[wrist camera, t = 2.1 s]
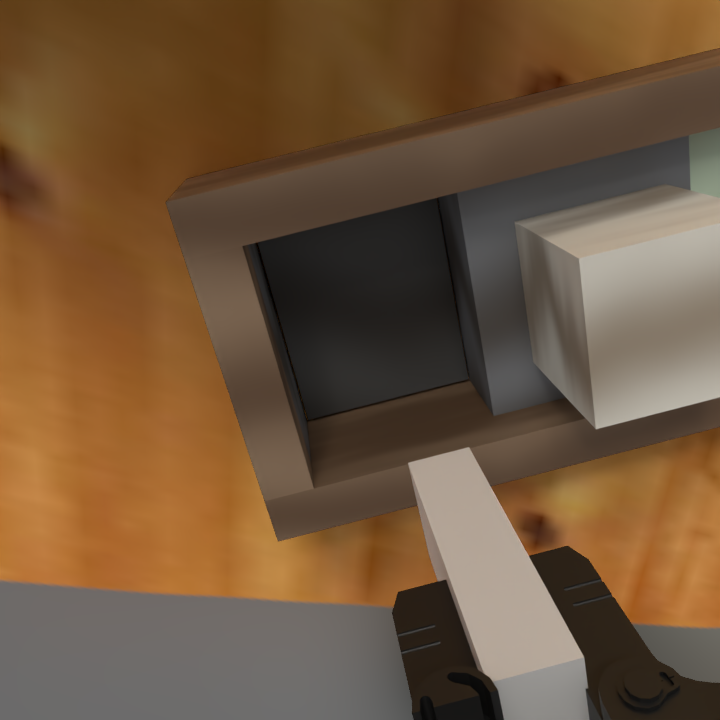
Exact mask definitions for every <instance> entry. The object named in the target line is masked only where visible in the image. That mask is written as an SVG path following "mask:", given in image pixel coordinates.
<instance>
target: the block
mask: <svg viewBox="0 0 720 720" xmlns="http://www.w3.org/2000/svg"><path fill="white" fill-rule="evenodd" d="M515 229H516V237H517V244H518V252H519V259H520V267H521V274H522V282H523V289H524V297H525V304H526V311H527V319H528V326H529V334H530V341H531V349H532V356H533V363H534V364H535V365H536V366H537V367H538V368H539V369H540V370H541V371H542V372H543V373H544V374H545V375H546V377H547V378H548V379H549V380H550V381H551V382H552V383H553V384H554V385H555V386H556V387H557V388H558V389H559V390H560V391H561V393H562V394H563V395H564V396H565V397H566V398H567V399H568V400H569V401H570V402H571V403H572V404H573V405H574V406H575V408H576V409H577V410H578V411H579V412H580V413H581V414H582V415H583V416H584V417H585V418H586V419H587V420H588V421H589V422H590V424H591V425H592V426H593V427H594V428H595V429H599V428H603V427H607V426H611V425H615V424H619V423H622V422H626V421H630V420H634V419H638V418H642V417H646V416H649V415H653V414H657V413H661V412H665V411H669V410H673V409H677V408H680V407H684V406H688V405H692V404H696V403H700V402H704V401H708V400H711V399H715V398H719V397H720V198H718V197H714V196H710V195H706V194H702V193H699V192H695V191H691V190H687V189H683V188H679V187H675V186H671V185H667V184H663V185H659V186H655V187H651V188H647V189H643V190H639V191H635V192H631V193H627V194H623V195H619V196H615V197H611V198H607V199H603V200H599V201H595V202H591V203H587V204H583V205H579V206H575V207H571V208H567V209H563V210H559V211H555V212H551V213H547V214H543V215H539V216H535V217H531V218H527V219H523V220H519V221H515Z"/></svg>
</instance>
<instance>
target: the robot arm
mask: <svg viewBox="0 0 720 720" xmlns="http://www.w3.org/2000/svg"><path fill="white" fill-rule="evenodd" d="M408 465H409V470H410V474H411V478H412V483H413V487H414V491H415V496H416V500H417V505H418V509H419V513H420V518H421V522H422V527H423V531H424V535H425V540H426V544H427V548H428V553H429V556H430V559H431V562H432V565H433V568H434V571H435V574H436V577H437V580H438V582H434V583H431V584H427V585H423V586H419V587H415V588H412V589H408V590H404V591H400V592H398V594H397V598H396V601H395V605H394V608H393V612H392V614H393V619H394V623H395V628H396V632H397V636H398V641H399V645H400V650H401V654H402V659H403V663H404V668H405V672H406V676H407V680H408V685H409V690H410V694H411V698H412V715H413V718H414V720H720V683H710V682H702V681H701V682H700V681H695V680H692V679H689V678H685V677H682V676H680V675H679V674H678V673H677V672H676V671H675V670H674V669H673V668H671V667H669V666H667V665H665V664H663V663H661V662H659V661H658V660H657V659H656V658H655V657H654V656H653V655H652V653H651V652H650V650H649V649H648V648H647V646H646V645H645V643H644V642H643V640H642V639H641V637H640V636H639V634H638V633H637V631H636V630H635V628H634V627H633V625H632V624H631V622H630V621H629V619H628V618H627V616H626V615H625V613H624V612H623V610H622V609H621V607H620V606H619V604H618V603H617V601H616V600H615V598H614V597H612V595H611V592H610V591H609V589H608V588H607V586H606V585H605V583H604V582H602V580H601V578H600V576H599V575H598V573H597V572H596V570H595V569H594V567H593V566H592V564H591V563H590V561H589V560H588V559H587V558H585V557H584V556H582V555H581V554H579V553H578V552H576V551H575V550H573V549H572V548H570V547H569V546H565V547H561V548H557V549H554V550H550V551H546V552H542V553H538V554H534V555H531V556H528V554H527V552H526V550H525V548H524V547H523V545H522V543H521V541H520V539H519V537H518V536H517V534H516V532H515V530H514V528H513V527H512V525H511V523H510V521H509V519H508V517H507V516H506V514H505V512H504V510H503V508H502V506H501V505H500V503H499V501H498V499H497V497H496V495H495V494H494V492H493V490H492V488H491V486H490V485H489V483H488V481H487V479H486V477H485V475H484V474H483V472H482V470H481V468H480V466H479V464H478V463H477V461H476V459H475V457H474V455H473V454H472V452H471V450H470V448H469V447H467V448H464V449H460V450H456V451H452V452H448V453H444V454H440V455H436V456H433V457H429V458H425V459H421V460H417V461H413V462H409V463H408Z"/></svg>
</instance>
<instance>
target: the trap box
mask: <svg viewBox="0 0 720 720" xmlns="http://www.w3.org/2000/svg"><path fill="white" fill-rule="evenodd" d="M663 184H667V185H671V186H675V187H679V188H683V189H687V190H691V191H695V192H699V193H702V194H706V195H710V196H714V197H718V198H720V48H718V49H714V50H710V51H706V52H702V53H698V54H694V55H690V56H685V57H681V58H677V59H673V60H669V61H665V62H661V63H657V64H653V65H649V66H645V67H641V68H637V69H633V70H628V71H624V72H620V73H616V74H612V75H608V76H604V77H600V78H596V79H592V80H588V81H584V82H580V83H575V84H571V85H567V86H563V87H559V88H555V89H551V90H547V91H543V92H539V93H535V94H531V95H527V96H522V97H518V98H514V99H510V100H506V101H502V102H498V103H494V104H490V105H486V106H482V107H478V108H474V109H470V110H465V111H461V112H457V113H453V114H449V115H445V116H441V117H437V118H433V119H429V120H425V121H421V122H417V123H412V124H408V125H404V126H400V127H396V128H392V129H388V130H384V131H380V132H376V133H372V134H368V135H364V136H360V137H355V138H351V139H347V140H343V141H339V142H335V143H331V144H327V145H323V146H319V147H315V148H311V149H307V150H302V151H298V152H294V153H290V154H286V155H282V156H278V157H274V158H270V159H266V160H262V161H258V162H254V163H249V164H245V165H241V166H237V167H233V168H229V169H225V170H221V171H217V172H213V173H209V174H205V175H201V176H197V177H192V178H188V179H186V180H185V181H184V182H183V183H182V185H181V186H180V187H179V188H178V189H177V190H176V191H175V192H174V193H173V195H172V196H171V197H170V198H169V199H168V200H167V201H166V205H167V208H168V211H169V214H170V217H171V220H172V223H173V226H174V229H175V232H176V235H177V238H178V241H179V245H180V248H181V251H182V254H183V257H184V260H185V263H186V266H187V269H188V272H189V275H190V278H191V281H192V284H193V287H194V290H195V293H196V296H197V299H198V302H199V305H200V308H201V311H202V314H203V317H204V320H205V323H206V326H207V329H208V332H209V335H210V338H211V341H212V344H213V347H214V350H215V353H216V356H217V359H218V362H219V365H220V368H221V371H222V374H223V377H224V380H225V383H226V386H227V389H228V392H229V395H230V398H231V401H232V404H233V407H234V410H235V413H236V416H237V419H238V422H239V425H240V428H241V431H242V434H243V437H244V440H245V443H246V446H247V449H248V452H249V455H250V458H251V462H252V465H253V468H254V471H255V474H256V477H257V480H258V483H259V486H260V489H261V492H262V495H263V498H264V501H265V504H266V507H267V510H268V513H269V516H270V519H271V522H272V525H273V528H274V531H275V534H276V537H277V540H278V541H282V540H286V539H290V538H293V537H297V536H301V535H305V534H309V533H313V532H317V531H320V530H324V529H328V528H332V527H336V526H340V525H344V524H347V523H351V522H355V521H359V520H363V519H367V518H371V517H374V516H378V515H382V514H386V513H390V512H394V511H397V510H401V509H405V508H409V507H413V506H417V500H416V496H415V491H414V487H413V483H412V478H411V474H410V470H409V465H408V463H409V462H413V461H417V460H421V459H425V458H429V457H433V456H436V455H440V454H444V453H448V452H452V451H456V450H460V449H464V448H467V447H469V448H470V450H471V452H472V454H473V455H474V457H475V459H476V461H477V463H478V464H479V466H480V468H481V470H482V472H483V474H484V475H485V477H486V479H487V481H488V483H489V485H490V486H494V485H498V484H502V483H505V482H509V481H513V480H517V479H521V478H525V477H528V476H532V475H536V474H540V473H544V472H548V471H552V470H555V469H559V468H563V467H567V466H571V465H575V464H579V463H582V462H586V461H590V460H594V459H598V458H602V457H606V456H609V455H613V454H617V453H621V452H625V451H629V450H633V449H636V448H640V447H644V446H648V445H652V444H656V443H660V442H663V441H667V440H671V439H675V438H679V437H683V436H686V435H690V434H694V433H698V432H702V431H706V430H710V429H713V428H717V427H720V397H719V398H715V399H711V400H708V401H704V402H700V403H696V404H692V405H688V406H684V407H680V408H677V409H673V410H669V411H665V412H661V413H657V414H653V415H649V416H646V417H642V418H638V419H634V420H630V421H626V422H622V423H619V424H615V425H611V426H607V427H603V428H599V429H595V428H594V427H593V426H592V425H591V424H590V422H589V421H588V420H587V419H586V418H585V417H584V416H583V415H582V414H581V413H580V412H579V411H578V410H577V409H576V408H575V406H574V405H573V404H572V403H571V402H570V401H569V400H568V399H567V398H566V397H565V396H564V395H563V394H562V393H561V391H560V390H559V389H558V388H557V387H556V386H555V385H554V384H553V383H552V382H551V381H550V380H549V379H548V378H547V377H546V375H545V374H544V373H543V372H542V371H541V370H540V369H539V368H538V367H537V366H536V365H535V364H534V363H533V356H532V349H531V341H530V334H529V326H528V319H527V311H526V304H525V297H524V289H523V282H522V274H521V267H520V259H519V252H518V244H517V237H516V229H515V221H519V220H523V219H527V218H531V217H535V216H539V215H543V214H547V213H551V212H555V211H559V210H563V209H567V208H571V207H575V206H579V205H583V204H587V203H591V202H595V201H599V200H603V199H607V198H611V197H615V196H619V195H623V194H627V193H631V192H635V191H639V190H643V189H647V188H651V187H655V186H659V185H663ZM437 200H438V203H437ZM438 206H439V209H438ZM439 212H440V215H439ZM440 217H441V220H440ZM441 223H442V226H441ZM442 229H443V232H442ZM443 234H444V237H443ZM444 240H445V243H444ZM257 242H258V246H259V249H260V253H261V256H262V260H263V263H264V267H265V270H266V274H267V277H268V281H269V284H270V288H271V291H272V295H273V298H274V302H275V305H276V309H277V312H278V316H279V319H280V323H281V326H282V330H283V333H284V337H285V340H286V344H287V347H288V351H289V354H290V358H291V361H292V365H293V368H294V372H295V375H296V379H297V382H298V386H299V389H300V393H301V396H302V400H303V403H304V407H305V410H306V414H307V417H308V420H307V419H306V416H305V412H304V409H303V405H302V402H301V398H300V395H299V391H298V388H297V384H296V381H295V377H294V374H293V370H292V367H291V363H290V360H289V356H288V353H287V349H286V346H285V342H284V339H283V335H282V332H281V328H280V325H279V322H278V318H277V315H276V311H275V308H274V304H273V301H272V297H271V294H270V290H269V287H268V283H267V280H266V276H265V273H264V269H263V266H262V262H261V259H260V255H259V252H258V248H257V245H256V243H257ZM445 246H446V249H445ZM446 251H447V254H446ZM447 257H448V260H447ZM448 263H449V266H448ZM449 268H450V271H449ZM450 274H451V277H450ZM451 280H452V283H451ZM452 285H453V288H452ZM453 291H454V294H453ZM454 297H455V300H454ZM455 302H456V305H455ZM456 308H457V311H456ZM457 314H458V317H457ZM458 319H459V322H458ZM459 325H460V328H459ZM460 331H461V334H460ZM461 336H462V339H461ZM462 342H463V345H462ZM463 348H464V351H463ZM464 353H465V356H464ZM465 359H466V362H465ZM466 365H467V367H466ZM467 370H468V373H467ZM468 376H469V379H468Z"/></svg>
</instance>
